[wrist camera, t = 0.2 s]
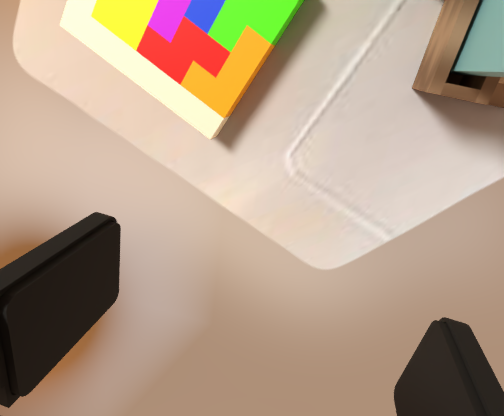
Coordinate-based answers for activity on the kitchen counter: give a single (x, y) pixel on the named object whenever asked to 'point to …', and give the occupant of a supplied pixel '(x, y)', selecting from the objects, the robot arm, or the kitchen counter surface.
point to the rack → (444, 53)
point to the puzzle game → (184, 48)
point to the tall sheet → (483, 42)
